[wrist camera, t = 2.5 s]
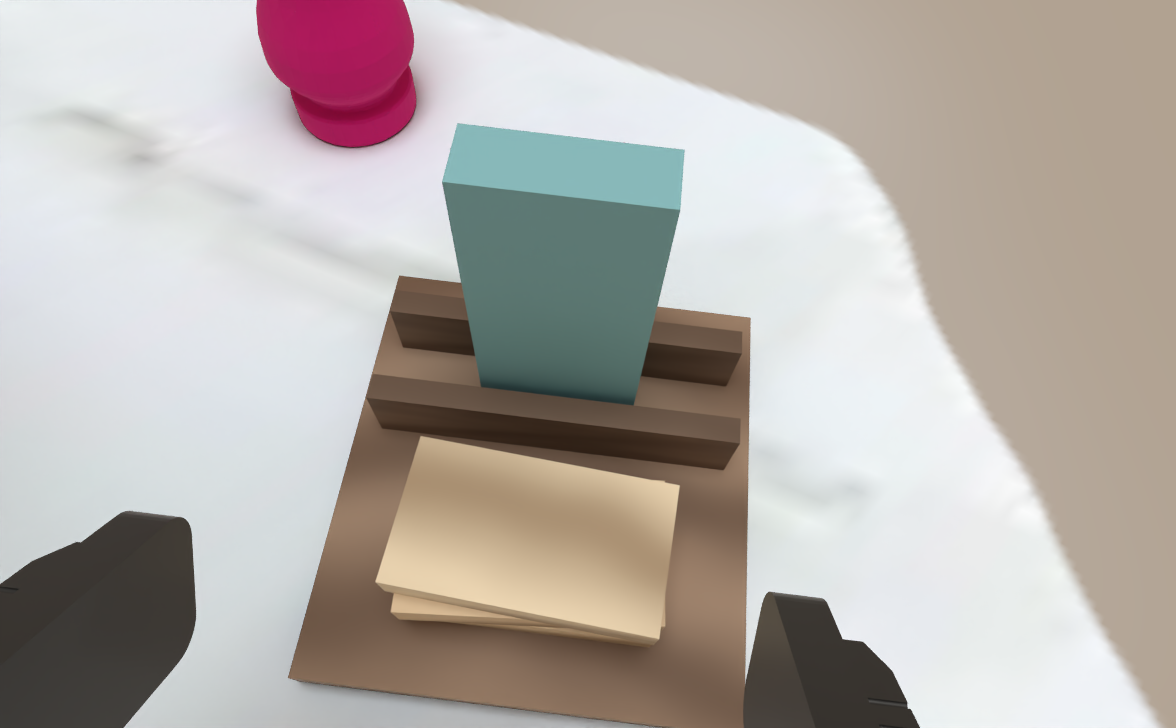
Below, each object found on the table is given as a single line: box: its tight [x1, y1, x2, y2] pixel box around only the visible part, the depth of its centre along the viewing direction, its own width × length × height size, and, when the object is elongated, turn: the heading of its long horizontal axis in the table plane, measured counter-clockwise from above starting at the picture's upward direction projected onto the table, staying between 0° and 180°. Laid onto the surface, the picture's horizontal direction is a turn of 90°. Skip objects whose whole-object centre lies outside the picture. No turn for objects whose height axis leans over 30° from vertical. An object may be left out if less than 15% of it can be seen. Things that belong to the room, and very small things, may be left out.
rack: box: [288, 276, 751, 728], centre depth 29 cm, size 17×16×4 cm
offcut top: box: [375, 436, 680, 645], centre depth 25 cm, size 5×9×2 cm, turn 80°
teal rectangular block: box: [442, 123, 684, 406], centre depth 25 cm, size 2×6×14 cm, turn 84°
